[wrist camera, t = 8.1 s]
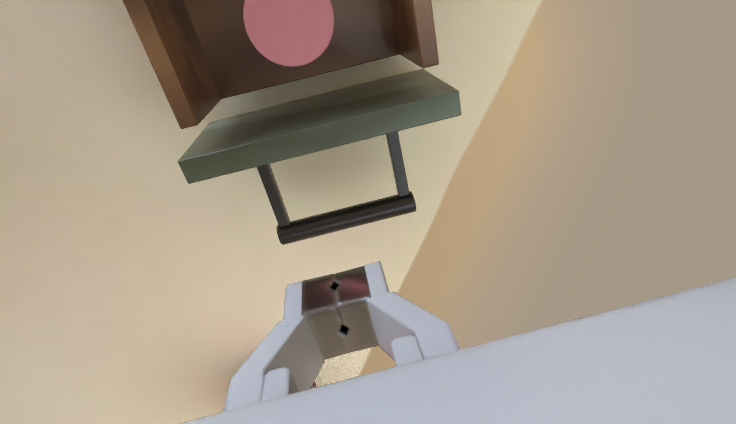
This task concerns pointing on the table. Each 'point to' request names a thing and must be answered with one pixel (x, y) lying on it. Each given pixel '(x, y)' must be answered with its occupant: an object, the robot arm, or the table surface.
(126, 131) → the table surface
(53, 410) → the table surface
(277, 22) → the red short cylinder
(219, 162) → the drawer
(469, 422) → the robot arm
